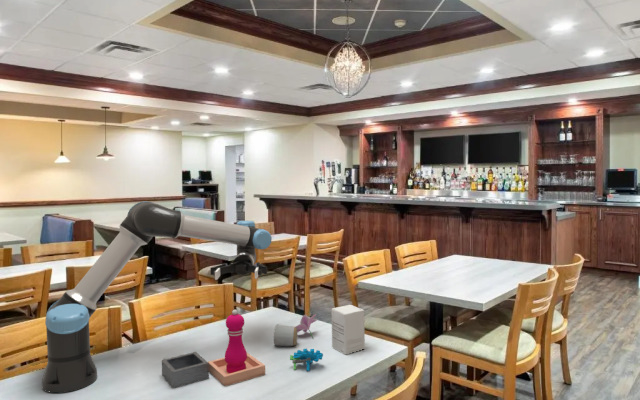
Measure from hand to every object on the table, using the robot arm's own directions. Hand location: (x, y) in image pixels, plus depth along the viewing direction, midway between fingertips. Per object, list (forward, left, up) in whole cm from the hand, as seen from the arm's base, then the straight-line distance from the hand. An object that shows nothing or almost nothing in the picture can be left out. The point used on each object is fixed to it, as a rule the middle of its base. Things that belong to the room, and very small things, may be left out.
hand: (235, 275), depth 155 cm
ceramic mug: (+22, +4, -30) cm, 38 cm away
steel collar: (-19, -1, -30) cm, 36 cm away
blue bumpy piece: (+17, -18, -30) cm, 39 cm away
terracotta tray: (-4, -8, -30) cm, 31 cm away
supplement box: (+38, -14, -30) cm, 50 cm away
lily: (+33, +6, -30) cm, 45 cm away
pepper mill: (-4, -8, -30) cm, 31 cm away
